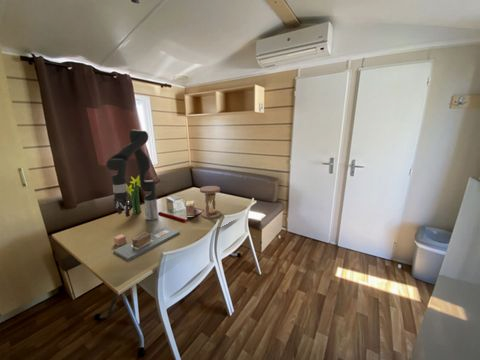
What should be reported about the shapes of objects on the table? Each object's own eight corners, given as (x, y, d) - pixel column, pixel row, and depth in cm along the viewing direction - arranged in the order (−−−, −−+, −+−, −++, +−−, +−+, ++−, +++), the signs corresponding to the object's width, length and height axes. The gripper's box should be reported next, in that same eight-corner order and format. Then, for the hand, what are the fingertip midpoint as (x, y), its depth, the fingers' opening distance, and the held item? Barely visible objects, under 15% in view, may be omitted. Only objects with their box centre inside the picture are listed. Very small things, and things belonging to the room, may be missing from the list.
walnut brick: (133, 246, 127) (132, 239, 126) (144, 238, 137) (144, 232, 136) (139, 247, 126) (138, 240, 125) (150, 240, 135) (150, 233, 134)
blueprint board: (113, 252, 124) (113, 249, 124) (165, 228, 156) (164, 226, 155) (128, 260, 116) (128, 257, 116) (179, 233, 147) (179, 231, 147)
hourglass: (213, 221, 168) (212, 192, 163) (196, 216, 177) (195, 189, 171) (224, 213, 183) (224, 187, 178) (209, 210, 192) (208, 184, 186)
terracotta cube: (114, 244, 134) (113, 237, 133) (122, 240, 138) (121, 234, 137) (118, 246, 131) (117, 239, 130) (126, 242, 135) (125, 236, 134)
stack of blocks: (187, 210, 193) (187, 197, 190) (194, 209, 194) (193, 197, 191) (186, 219, 172) (185, 205, 170) (194, 218, 174) (193, 204, 171)
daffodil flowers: (132, 218, 173) (127, 179, 165) (122, 215, 180) (117, 177, 172) (150, 212, 187) (146, 175, 179) (140, 209, 194) (136, 173, 186)
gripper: (107, 190, 126) (111, 214, 129) (121, 194, 119) (124, 219, 123) (119, 187, 132) (123, 211, 136) (133, 190, 125) (136, 215, 129)
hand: (123, 215), depth 129 cm, fingers open, 8 cm apart
